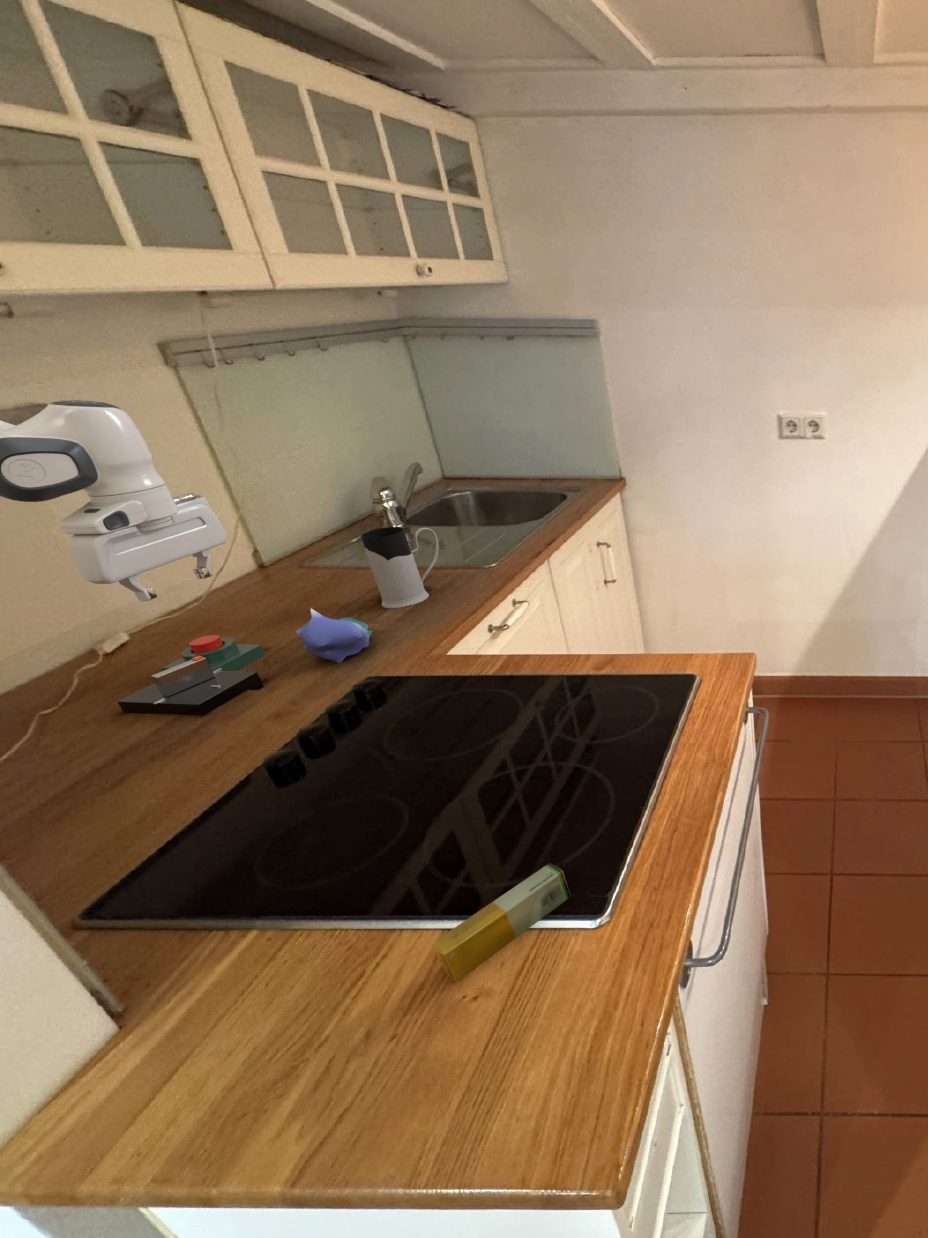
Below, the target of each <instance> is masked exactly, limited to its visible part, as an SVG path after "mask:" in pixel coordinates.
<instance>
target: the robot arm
mask: <svg viewBox="0 0 928 1238" xmlns="http://www.w3.org/2000/svg"><path fill="white" fill-rule="evenodd" d="M149 447H150V446H149V445H148V443H147V442H146V440H145V438H144V436H143V434H142V432H141V431H140V428H139V427H138V426H137V424H136V422H135V421H134V420H133V419H132V416H130V415H129V413H128V412H127V411H125V410H124V409H122V408H120V407H119V406H116V405H115V404H111V403H108V402H105V401H104V402H103V401H95V400H77V399H76V400H74V399H73V400H72V399H71V400H66V399H65V400H56V401H52V402H49V403H48V404H47V405H46V406H45V408H43V409H42V410H41V411H40V412H38V413H37V414H35V415H33V416H32V417H30V418H28V419H26V420H24V421H23V422H21V423H18V422H13V421H9V420H6V419H3V418H0V497H2V498H3V499H4V498H5V499H7V500H12V501H16V502H24V503H39V502H41V503H43V502H49V501H52V500H55V499H58V498H61V497H63V496H67V495H69V494H72V493H75V492H78V491H82V490H83V491H84V492H86V494H87V496H88V498H89V500H90V501H88V502H87V503H85V504H84V505H82V506H81V507H80V508H79V509H77V510H75V511H73V512H72V513H70V514H69V515H67V516H65V517H64V518H62V519H61V520H60V521H59V523H58V525H59V528H60V529H61V531H62V532H63V533H65V534H67V535H71V536H70V538H69V540H68V543H67V544H68V546H67V547H68V550H69V553H70V555H71V558H72V560H73V563H74V564H75V566H76V568H77V570H78V572H79V574H80V575H81V576H82V578H83V579H84V580H85V581H88V582H89V583H92V584H96V585H111V584H114V583H117V582H118V583H119V584H120V585H121V586H123V587H125V588H126V589H128V590H130V591H131V592H133V593H134V594H135V597H136V598H137V600H138V601H140V602H150V601H151V600H154V599H157V598H158V595H157V593H155V592H156V591H155V589H154V587H145V586H143V585H142V584H141V583H139V582H140V581H141V578H140V576H139V575H140V574H142V573H145V572H148V571H151V570H154V569H156V568H160V567H162V566H165V565H167V564H170V563H173V562H176V561H179V560H182V559H184V558H187V557H189V556H192V557H193V558H196V567H194V568H192V571H193V574H194V576H195V577H196V578H197V579H199V580H205V579H207V578H210V577H213V576H214V573H213V571H212V568H211V564H212V563H211V562H212V557H213V554H212V552H211V550H210V549H213V548H215V547H219V546H221V545H224V544H226V543H227V540H228V533H227V531H226V530H225V527H224V526H223V524H222V523H221V521H220V519H219V518H218V516H217V514H215V512H214V510H212V508H211V505H210V504H209V502H208V499H207V498H206V497H204V496H203V495H201V494H198V493H195V492H188V493H187V492H186V493H184V494H182V495H177V496H173V495H172V493H171V491H170V489H169V487H168V485H167V482H166V481H165V478H163V477H162V475H160V474H159V472H158V471H157V469H156V467H155V465H154V457H153V453H152V452H151V450H150V448H149Z"/></svg>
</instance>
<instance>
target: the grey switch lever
mask: <svg viewBox="0 0 928 1238" xmlns="http://www.w3.org/2000/svg"><path fill="white" fill-rule="evenodd" d="M191 659H192V660H190V661H187V662H185V663H182V664H180V665H177V666H175V667H172V668H170V669H167V670H164V671H163V670H162V671H159V672H157V673H155V674H152V675H151V678H152V680H153V683H155V684H156V686H157V688H158V689H159V691H160V693H161V695H163V696H167V697H168V696H171V695H173V694H175V693H178V692H180V691H182V690H185V689H187V688H190V687H192V686H194V685H197V684H199V683H201V682H204V681H206V680H208V679H211V678H213V677H215V675H214V673H213V671H212V669H211V667H210V665H209V663H208V661H207V659H206V658H204V657H202V656H196V657H194V658H191Z"/></svg>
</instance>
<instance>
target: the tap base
mask: <svg viewBox="0 0 928 1238" xmlns="http://www.w3.org/2000/svg"><path fill="white" fill-rule="evenodd" d="M221 669H222V668H219V669H217V670H212V671H213V673H214V675H215V677H213V678H211V679H208V680H206V681H204V682H201V683H199V684H197V685H194V686H192V687H190V688H187V689H185V690H182V691H180V692H178V693H175V694H173V695H171V696H168V697H167V696H163V695H161V693H160V691H159V689H158V688H157V686H156V684H155V682H153V683H151V684H149V685H148V686H146V687H144V688H142V689H139V690H138V691H136V692H134V693H132V694H129V695H128V696H126V697H124V698H122V699H120V700H118V701H117V704H118V706H119V707H120V709H121V711H122V713H124V714H145V715H146V714H147V715H148V714H150V715H173V716H174V715H177V716H202V717H203V716H206V715H208V714H209V713H211V712H213V711H215V710H216V709H218V708H220V707H221V706H223V705H225V704H227V703H228V702H230V701H232V700H233V699H235V698H237V697H238V696H241V695H242V694H244V693H245V692H248V691H260V690H261V689H263V688H264V687H265V686H264V683H263V681H262V680H261V677H260V675H259V673H258V671H255V670H253V671H252V670H237V671H222V670H221Z"/></svg>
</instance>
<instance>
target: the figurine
mask: <svg viewBox="0 0 928 1238" xmlns="http://www.w3.org/2000/svg"><path fill="white" fill-rule="evenodd" d="M310 615H311V618H310V619H309V621H308V622H307V623H306V624H305V625H303V626H302V627H300V628H299V629H297V630H295V633H296V634H297V636H299V637H300V638H301V639H302V642H303V646H302V647H303V648H304V650H306V652H308V653H309V654H311V655H313V656H318V657H320V658H323V659H326V660H329V661H332V662H335V663H338V664H342V662H343V661H344V660H345V659H346V657H349V656H353V655H356V654H359V653H360V652H361V651H362V650H363V649H364V648H366V647H369V646H370V637H371V636H372V634H373V632H374V630H368V627H369V625H368V624H367V623H366V622H363V621H360V620H357V619H355V618H353V617H340V618H339V619H334V618H331V617H327V616H325V615H322V614H321V613H319V612H318V611H316V610H315V609H313V608H310Z"/></svg>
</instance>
